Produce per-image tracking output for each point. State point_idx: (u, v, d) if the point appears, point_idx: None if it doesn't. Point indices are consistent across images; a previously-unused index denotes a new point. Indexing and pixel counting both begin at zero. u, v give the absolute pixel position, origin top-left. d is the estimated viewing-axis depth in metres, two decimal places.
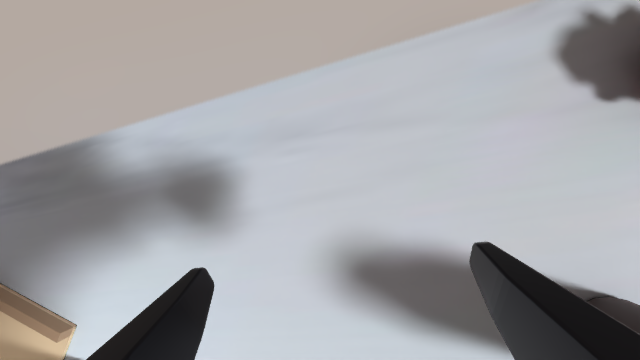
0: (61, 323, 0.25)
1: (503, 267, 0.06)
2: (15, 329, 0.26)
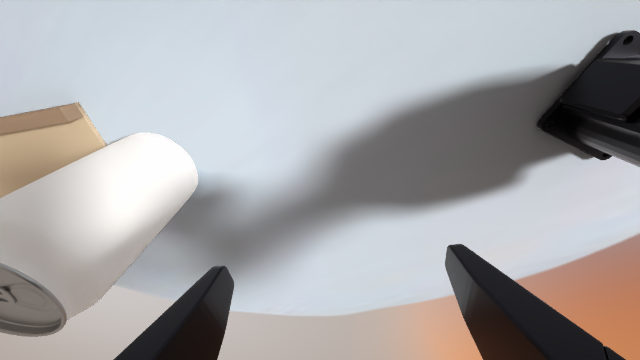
0: (57, 107, 0.18)
1: (472, 269, 0.06)
2: (34, 157, 0.20)
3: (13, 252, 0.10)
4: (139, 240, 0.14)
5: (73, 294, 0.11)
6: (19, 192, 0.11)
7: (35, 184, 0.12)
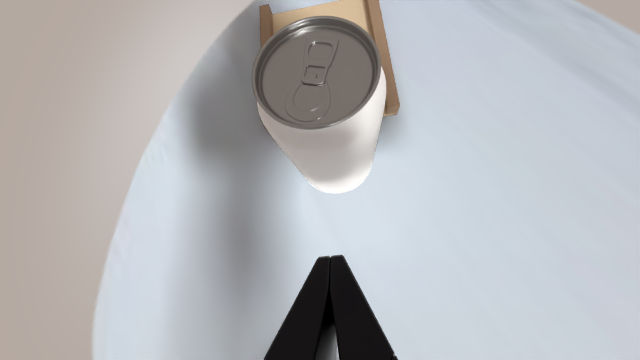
0: None
1: (333, 280, 0.07)
2: None
3: (364, 112, 0.10)
4: (309, 167, 0.14)
5: (301, 134, 0.10)
6: None
7: None
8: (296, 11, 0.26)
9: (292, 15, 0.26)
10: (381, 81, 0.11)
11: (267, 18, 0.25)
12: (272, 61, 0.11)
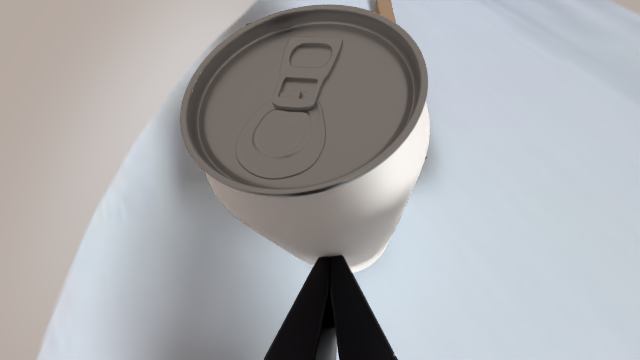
0: None
1: (333, 280, 0.07)
2: None
3: (395, 161, 0.05)
4: (293, 252, 0.08)
5: (263, 204, 0.05)
6: None
7: None
8: None
9: None
10: (423, 106, 0.06)
11: None
12: (228, 74, 0.06)
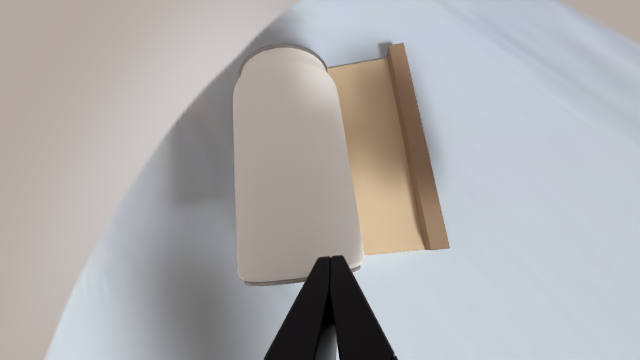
0: None
1: (334, 280, 0.07)
2: (370, 156, 0.17)
3: (278, 53, 0.13)
4: (234, 133, 0.13)
5: None
6: (326, 97, 0.13)
7: (328, 108, 0.13)
8: None
9: None
10: (311, 60, 0.13)
11: None
12: None
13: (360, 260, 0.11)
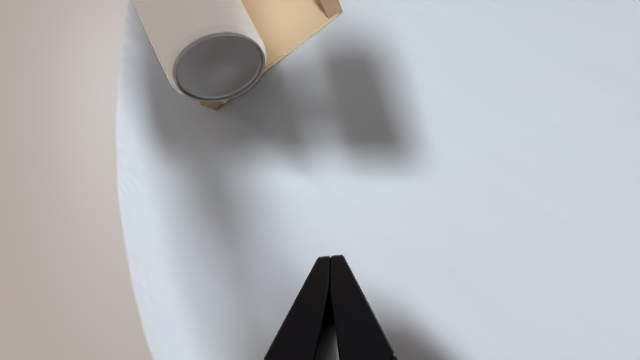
0: None
1: (334, 280, 0.07)
2: None
3: None
4: None
5: None
6: None
7: None
8: None
9: None
10: None
11: None
12: None
13: (236, 24, 0.14)
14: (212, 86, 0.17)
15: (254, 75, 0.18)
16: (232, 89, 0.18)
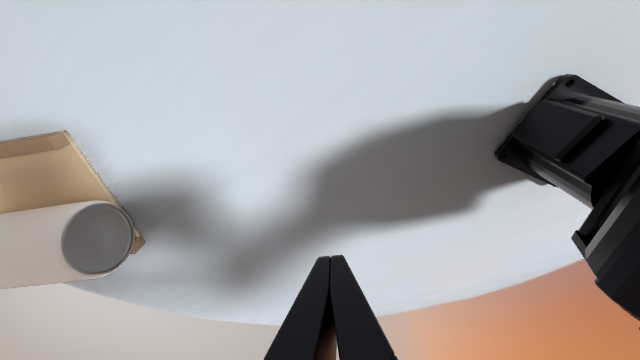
0: (45, 135, 0.19)
1: (333, 280, 0.07)
2: (24, 178, 0.21)
3: None
4: None
5: None
6: None
7: None
8: None
9: None
10: None
11: None
12: None
13: (57, 225, 0.18)
14: (117, 244, 0.22)
15: (115, 210, 0.22)
16: (125, 229, 0.23)
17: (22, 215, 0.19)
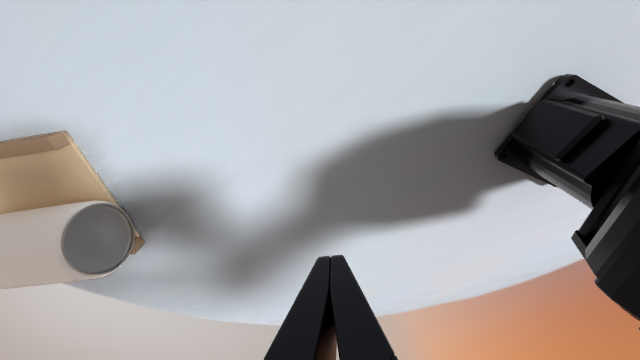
0: (45, 135, 0.19)
1: (333, 280, 0.07)
2: (24, 179, 0.21)
3: None
4: None
5: None
6: None
7: None
8: None
9: None
10: None
11: None
12: None
13: (57, 225, 0.18)
14: (117, 245, 0.22)
15: (115, 211, 0.22)
16: (125, 229, 0.23)
17: (22, 215, 0.19)
